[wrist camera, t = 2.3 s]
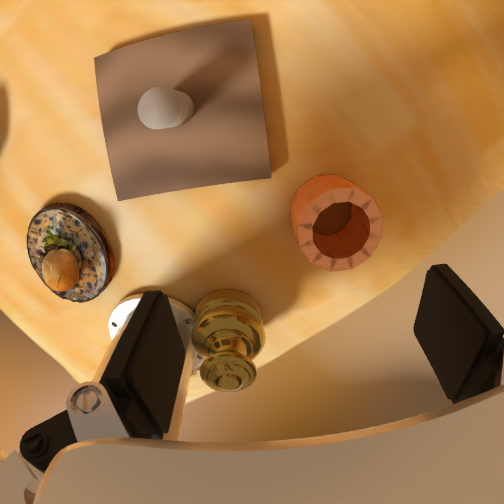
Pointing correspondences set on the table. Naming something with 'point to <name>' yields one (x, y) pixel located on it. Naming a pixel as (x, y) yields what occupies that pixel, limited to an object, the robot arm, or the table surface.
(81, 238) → the burger
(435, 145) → the table surface
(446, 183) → the table surface
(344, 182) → the ring
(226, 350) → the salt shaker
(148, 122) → the post stand
